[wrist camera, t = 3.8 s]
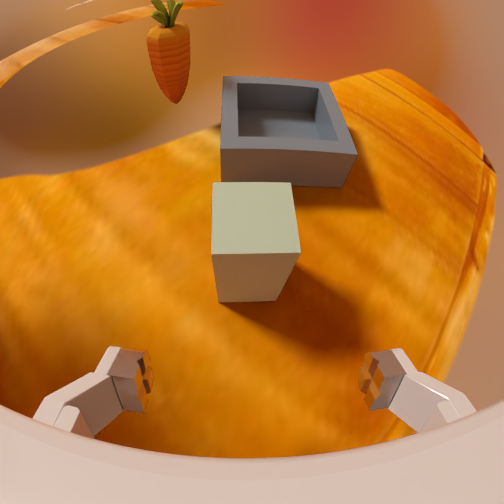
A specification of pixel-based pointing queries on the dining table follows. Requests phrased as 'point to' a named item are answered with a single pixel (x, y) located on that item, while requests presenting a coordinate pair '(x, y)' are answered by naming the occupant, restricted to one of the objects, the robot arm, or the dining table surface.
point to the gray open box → (283, 133)
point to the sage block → (253, 239)
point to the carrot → (169, 50)
